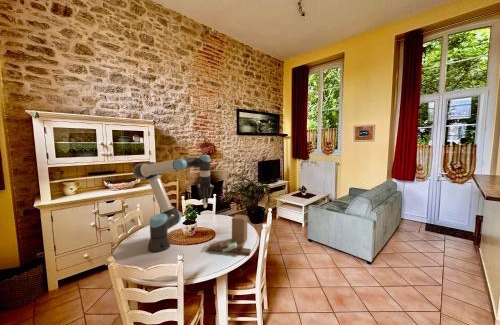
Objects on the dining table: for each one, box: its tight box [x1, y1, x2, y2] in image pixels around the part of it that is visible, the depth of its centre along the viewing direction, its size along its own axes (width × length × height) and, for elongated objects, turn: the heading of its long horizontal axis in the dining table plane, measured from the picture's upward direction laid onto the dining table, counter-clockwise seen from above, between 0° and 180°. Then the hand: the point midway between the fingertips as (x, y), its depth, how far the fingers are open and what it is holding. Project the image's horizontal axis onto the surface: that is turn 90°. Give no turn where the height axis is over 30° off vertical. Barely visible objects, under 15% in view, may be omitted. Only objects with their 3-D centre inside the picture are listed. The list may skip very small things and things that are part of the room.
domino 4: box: [235, 247, 252, 256], centre depth 148 cm, size 2×5×10 cm
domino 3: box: [229, 243, 245, 253], centre depth 149 cm, size 2×5×10 cm
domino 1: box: [207, 240, 223, 251], centre depth 151 cm, size 2×5×10 cm
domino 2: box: [214, 241, 231, 252], centre depth 151 cm, size 2×5×10 cm
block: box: [231, 213, 248, 245], centre depth 165 cm, size 10×10×20 cm
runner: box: [200, 245, 240, 256], centre depth 151 cm, size 28×8×1 cm, turn 81°
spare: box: [222, 242, 237, 252], centre depth 150 cm, size 2×5×10 cm
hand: (205, 207), depth 157 cm, fingers closed
